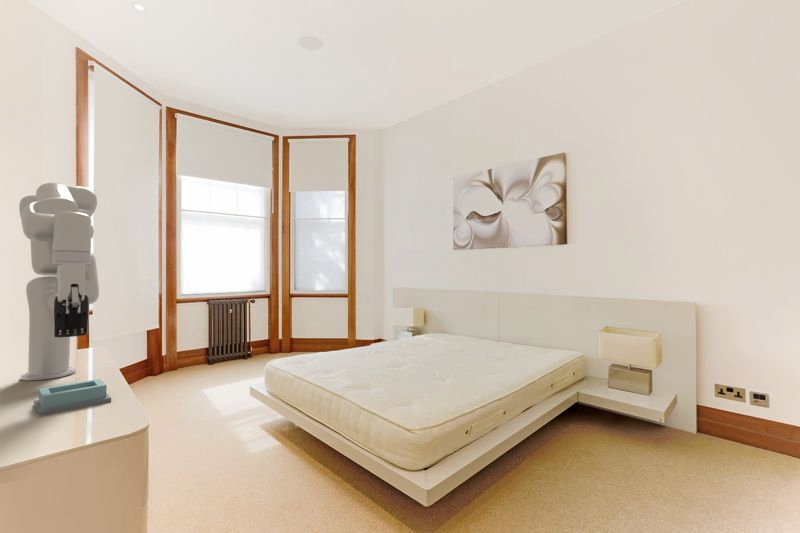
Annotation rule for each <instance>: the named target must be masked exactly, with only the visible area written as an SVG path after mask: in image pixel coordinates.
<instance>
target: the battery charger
mask: <svg viewBox="0 0 800 533" xmlns="http://www.w3.org/2000/svg"><path fill="white" fill-rule="evenodd" d="M80 298H82V295H80ZM81 300H82V299H80V301H81ZM70 301H72V299H68V302H70ZM65 303H66V302H65V300H63V302H58V301H57V296H56V297H55V299H54V337H70V338H73V337H82V336H87V335H88V334H89V314H90V304H89V298H88V296H87V295H86V294H85V297H84V300H83V301H81V302H80V313H81V328H80V329H74V330H64V314H66V304H65Z"/></svg>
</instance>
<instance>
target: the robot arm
mask: <svg viewBox="0 0 800 533" xmlns="http://www.w3.org/2000/svg"><path fill="white" fill-rule="evenodd" d="M35 192H36V193H35V194H36V195H35V194H34V195H33V194H31V195H27V196H24V197H22V198H21V199H20V200H19V201H20V202H19V206H18V208H19V209H18V210H19V215H20V216H19V217H20V219H21V228H22V231H23V234H24V236H25V237H26V238H27V239H29V240H30V256H31V257H30V258H31V266H32V271H33V272H34V273H35V274H36V275H38V276H39V277H35V278H32V279H30V280H29V281H28V283H27V284H26V289H25V291H26V292H25V293H26V299H27V304H28V314H29V316H28V317H29V318H28V320H29V324H28V325H29V326H28V330H29V332H28V335H29V336H28V362H27V363H28V366H27V367H28V368H27V369H28V370H27V372H24V373H23V374H21V375H20V380H21V381H29V382H30V381H42V380H43V381H45V380H49V379H57V378H62V377H67V376H71V375H72V374H74V373H76V370H77V368H75V367H74V366H72V367H71V366H70V357H71V356H70V355H71V351H70V350H71V345H70V344H71V337H54V299H55V297H56V296H57V301H58V302H63V300H65V302H66V303H65V304H66V314H64V330H74V329H80V328H81V313H80V302H81V301H83V300H84V297H85V294H86V295H87V296H88V298H89V305H91V304H94V303H95V302H97V300H98V298H99V296H100V286H99V277H98V269H97V262H96V261H97V260H96V257H95V255H94V253H93V252H92V249H91V248H92V239H93V238H94V231H95V230H94V224H92V218H91V217H92V216H93V214H95V212H96V209H97V207H98V206H97V205H98V198H97V194H95V192H94V190H92V189H91V188H90V187H87V186H86V187H85V186H80V185H73V184H72V185H71V184H67V183H61V182H47V183H43V184H40V185H39V186H38V187H37V189H36V191H35ZM80 295H82V298H80ZM68 299H72V301H70V302H68ZM80 299H82V300H81V301H80Z"/></svg>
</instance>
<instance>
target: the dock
mask: <svg viewBox="0 0 800 533" xmlns="http://www.w3.org/2000/svg"><path fill="white" fill-rule="evenodd" d="M107 387H108V386H107V384H106V383H105V382H104V381H103V380H102V379H100V378H97V379H91V380H86V381H78V382H74V383H73V382H72V383H66V384H62V385H54V386H49V387H43V388H42V387H41V388H39V389H38V399H36V400H33V404H34V409H35V411H36V413H37V416H38V417H39V418H40V417H44V416H49V415H54V414H58V413H63V412H68V411H73V410H77V409H82V408H88V407H93V406H97V405H102V404H107V403H111V402H112V397H111V396H110V395H109V394H108V393H107V389H108V388H107Z"/></svg>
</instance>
